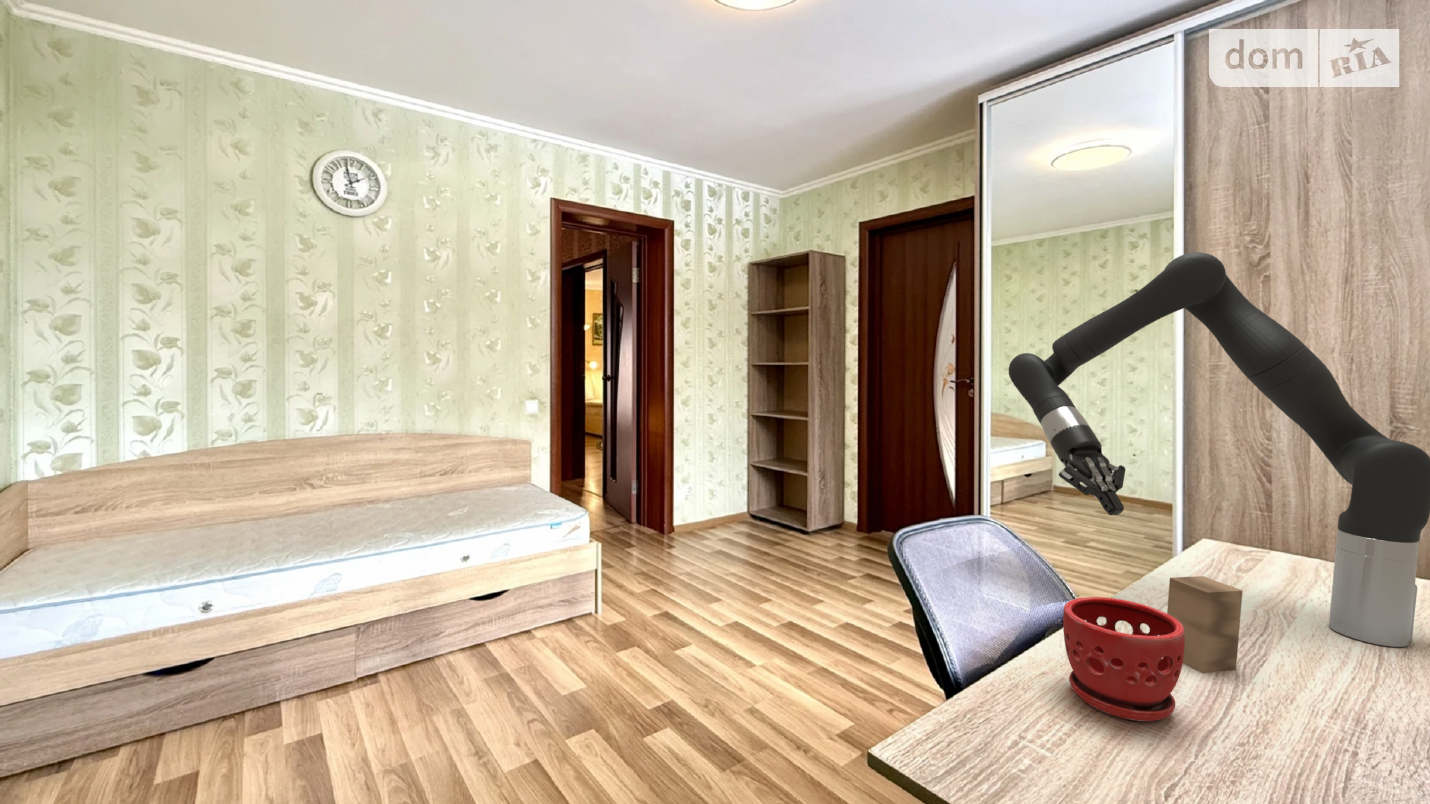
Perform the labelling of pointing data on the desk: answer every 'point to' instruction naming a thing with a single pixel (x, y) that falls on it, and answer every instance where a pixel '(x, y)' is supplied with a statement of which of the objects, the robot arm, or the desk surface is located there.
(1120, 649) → the plant pot
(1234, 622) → the walnut block
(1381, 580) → the robot arm
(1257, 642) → the desk surface
